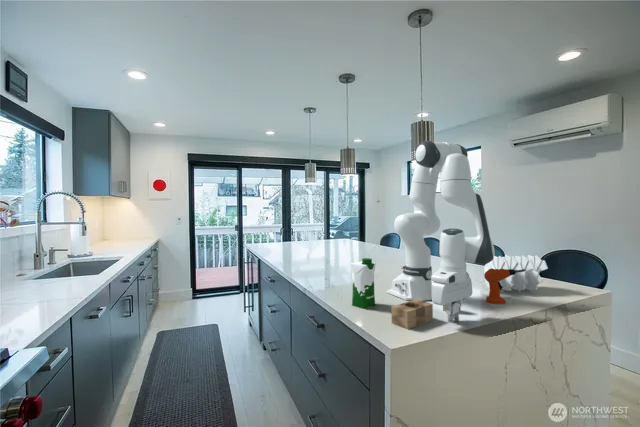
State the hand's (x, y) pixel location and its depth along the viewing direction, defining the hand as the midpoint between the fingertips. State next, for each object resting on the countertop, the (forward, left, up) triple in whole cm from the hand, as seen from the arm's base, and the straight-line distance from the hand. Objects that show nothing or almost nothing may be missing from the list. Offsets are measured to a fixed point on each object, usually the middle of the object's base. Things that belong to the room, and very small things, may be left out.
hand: (453, 312), depth 107 cm
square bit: (-7, +9, -3) cm, 12 cm away
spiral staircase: (-6, +60, -3) cm, 60 cm away
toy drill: (0, +39, -3) cm, 39 cm away
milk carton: (-33, -13, -3) cm, 36 cm away
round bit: (0, 0, -3) cm, 3 cm away
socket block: (-9, -12, -3) cm, 15 cm away
